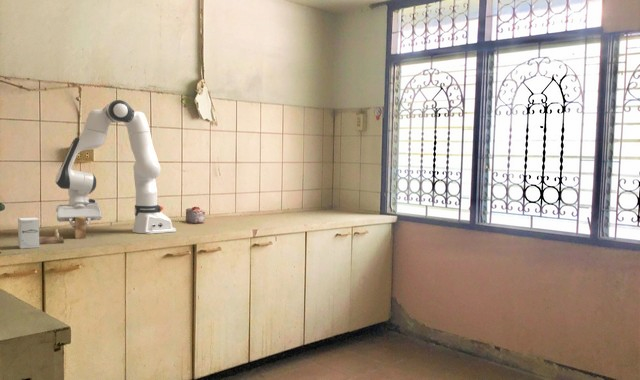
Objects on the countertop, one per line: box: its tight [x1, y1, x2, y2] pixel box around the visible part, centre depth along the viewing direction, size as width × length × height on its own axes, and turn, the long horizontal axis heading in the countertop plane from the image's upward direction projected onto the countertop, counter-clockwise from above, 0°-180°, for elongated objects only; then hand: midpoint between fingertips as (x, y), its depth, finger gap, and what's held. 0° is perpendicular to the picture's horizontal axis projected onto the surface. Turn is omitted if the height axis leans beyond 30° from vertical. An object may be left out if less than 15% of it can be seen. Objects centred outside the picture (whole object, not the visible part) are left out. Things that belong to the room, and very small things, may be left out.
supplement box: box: [17, 217, 40, 250], centre depth 232 cm, size 7×7×13 cm
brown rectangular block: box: [74, 217, 87, 240], centre depth 259 cm, size 4×7×10 cm, turn 28°
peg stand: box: [39, 228, 65, 245], centre depth 246 cm, size 14×14×5 cm
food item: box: [185, 206, 206, 225], centre depth 320 cm, size 14×8×10 cm, turn 45°
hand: (80, 226), depth 258 cm, fingers closed on brown rectangular block, 4 cm apart
